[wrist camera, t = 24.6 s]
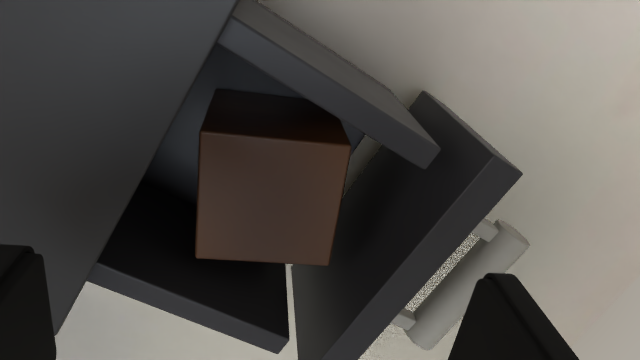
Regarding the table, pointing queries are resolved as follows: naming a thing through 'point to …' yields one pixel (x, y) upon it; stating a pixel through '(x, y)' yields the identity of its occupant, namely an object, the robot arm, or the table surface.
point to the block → (269, 179)
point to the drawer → (354, 217)
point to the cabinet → (89, 118)
